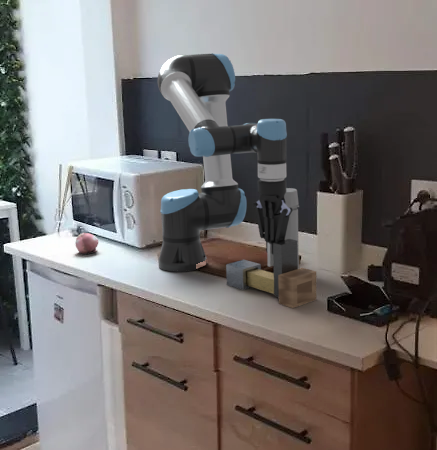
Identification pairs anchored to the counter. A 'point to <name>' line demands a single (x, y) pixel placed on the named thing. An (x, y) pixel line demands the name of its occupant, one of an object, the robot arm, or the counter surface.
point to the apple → (86, 243)
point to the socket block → (297, 287)
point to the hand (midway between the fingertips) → (272, 265)
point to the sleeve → (239, 273)
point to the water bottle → (292, 215)
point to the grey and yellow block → (275, 267)
